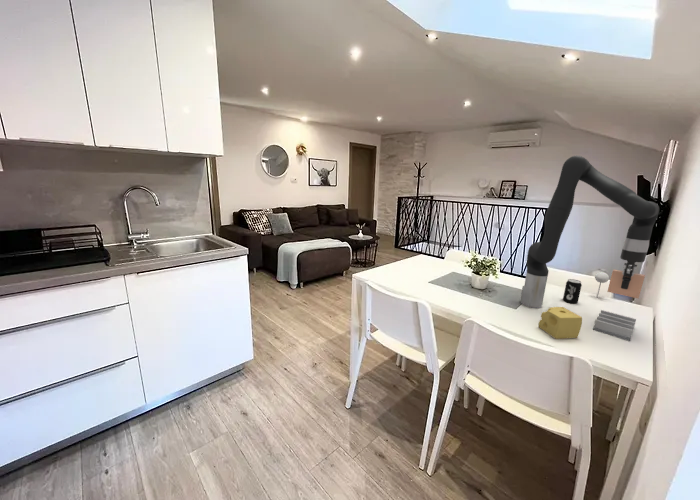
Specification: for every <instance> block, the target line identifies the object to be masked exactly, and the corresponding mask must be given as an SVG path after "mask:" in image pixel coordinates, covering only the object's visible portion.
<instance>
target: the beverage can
mask: <svg viewBox="0 0 700 500" xmlns="http://www.w3.org/2000/svg"><path fill="white" fill-rule="evenodd" d="M582 286H583V285H582V281H581V280H578V279H575V278H568V279H567V281H566V282H565V287H564V292H563V297H562V300H563V301H564V302H566V303H569V304H572V305H573V304H577V303H579V299H580V295H581V289H582Z"/></svg>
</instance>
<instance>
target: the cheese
mask: <svg viewBox="0 0 700 500" xmlns="http://www.w3.org/2000/svg"><path fill="white" fill-rule="evenodd" d="M582 324H583V317H582V316H580V315H579V314H577V313H575V312H573V311H571V310H569V309H567V308H565V307H564V306H553V307H549V308H548V309H547V310H546V311H543V312H541V314H540V320H539V321H538V328H539V329H541V330H542V331H544V332H546V334H548V335H549V336H551V337H552V338H554V339H555V340H559V339H560V340H561V339H563V340H564V339H578V338H579V335H580V333H581V328H582Z"/></svg>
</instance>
